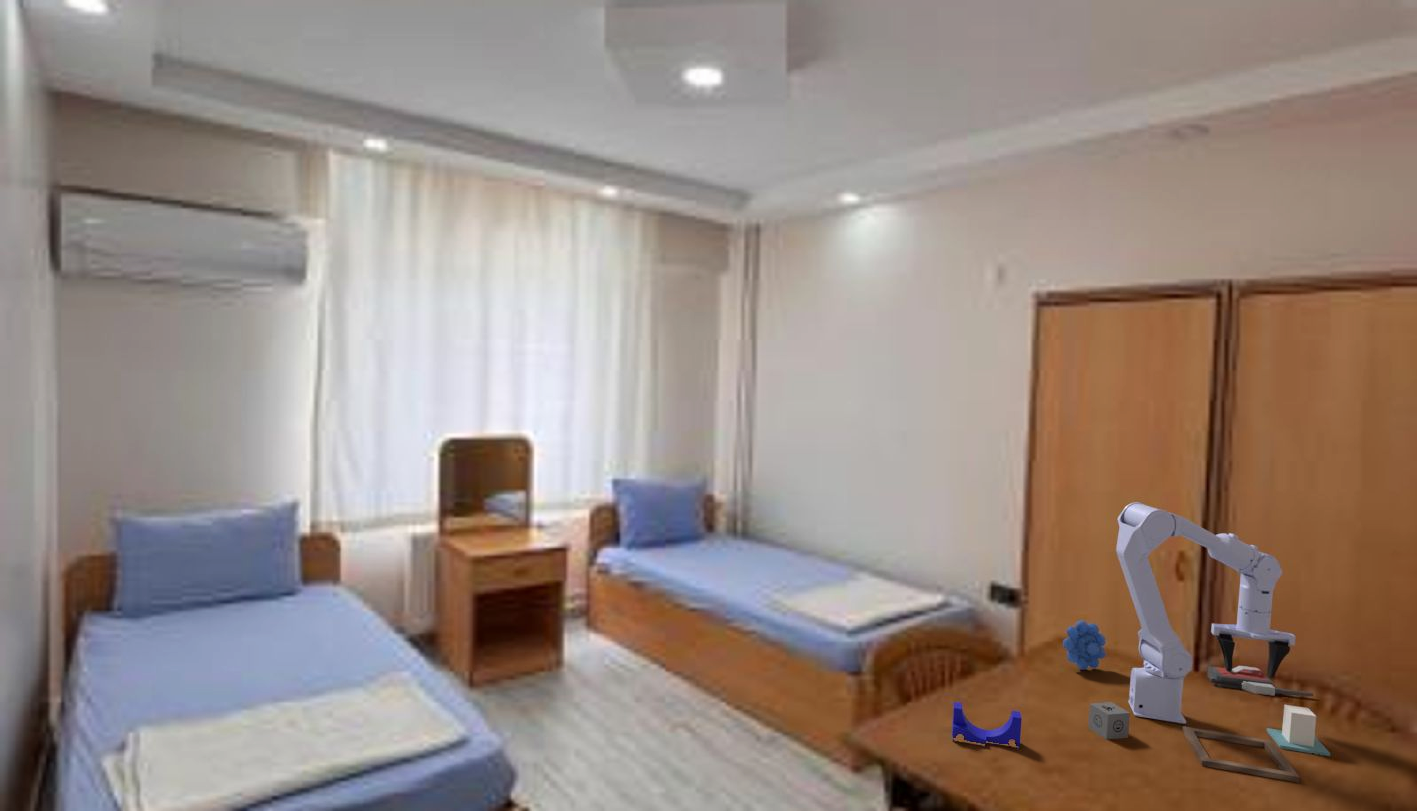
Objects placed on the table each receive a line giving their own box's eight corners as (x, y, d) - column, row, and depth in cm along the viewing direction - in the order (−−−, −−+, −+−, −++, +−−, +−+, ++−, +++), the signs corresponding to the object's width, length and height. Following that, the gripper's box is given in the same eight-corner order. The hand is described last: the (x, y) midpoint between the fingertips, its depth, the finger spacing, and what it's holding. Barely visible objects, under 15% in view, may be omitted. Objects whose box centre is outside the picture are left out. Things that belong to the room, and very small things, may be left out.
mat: (1280, 748, 155) (1280, 745, 155) (1266, 730, 162) (1266, 727, 162) (1330, 756, 152) (1330, 753, 152) (1313, 738, 160) (1313, 735, 160)
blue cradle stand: (952, 742, 152) (954, 710, 151) (951, 732, 156) (953, 701, 156) (1020, 753, 148) (1022, 721, 148) (1018, 742, 153) (1020, 711, 152)
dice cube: (1088, 728, 160) (1089, 703, 160) (1109, 726, 161) (1111, 701, 161) (1106, 739, 155) (1108, 714, 155) (1128, 737, 157) (1129, 712, 156)
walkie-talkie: (1214, 690, 184) (1314, 702, 179) (1216, 671, 183) (1316, 683, 179) (1200, 676, 192) (1295, 687, 188) (1201, 658, 192) (1297, 668, 188)
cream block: (1289, 742, 156) (1291, 712, 156) (1281, 734, 160) (1284, 704, 159) (1313, 746, 155) (1316, 716, 154) (1305, 737, 158) (1308, 708, 158)
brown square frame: (1201, 765, 146) (1202, 760, 146) (1182, 730, 160) (1182, 726, 160) (1299, 782, 142) (1299, 777, 141) (1270, 745, 156) (1270, 740, 156)
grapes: (1074, 678, 186) (1078, 626, 186) (1055, 667, 193) (1058, 617, 192) (1116, 675, 189) (1120, 625, 189) (1096, 664, 196) (1099, 616, 195)
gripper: (1219, 609, 166) (1214, 673, 167) (1303, 619, 161) (1297, 685, 162) (1210, 600, 173) (1205, 662, 173) (1290, 609, 168) (1285, 673, 169)
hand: (1249, 673), depth 168 cm, fingers open, 7 cm apart
